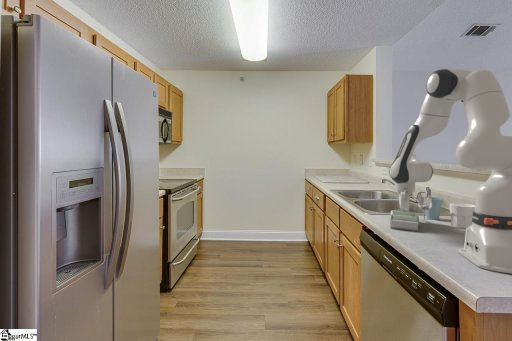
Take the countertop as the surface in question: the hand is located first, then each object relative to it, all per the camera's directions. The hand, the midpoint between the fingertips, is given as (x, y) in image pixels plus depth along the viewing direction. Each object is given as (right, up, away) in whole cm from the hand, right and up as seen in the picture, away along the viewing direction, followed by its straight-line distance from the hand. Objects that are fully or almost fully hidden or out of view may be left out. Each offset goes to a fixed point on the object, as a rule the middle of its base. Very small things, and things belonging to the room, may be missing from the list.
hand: (403, 215), depth 146 cm
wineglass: (+10, -3, 0) cm, 11 cm away
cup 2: (+24, -4, -7) cm, 25 cm away
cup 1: (+20, -3, +9) cm, 22 cm away
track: (-2, -3, -5) cm, 6 cm away
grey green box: (-3, -3, -7) cm, 8 cm away
